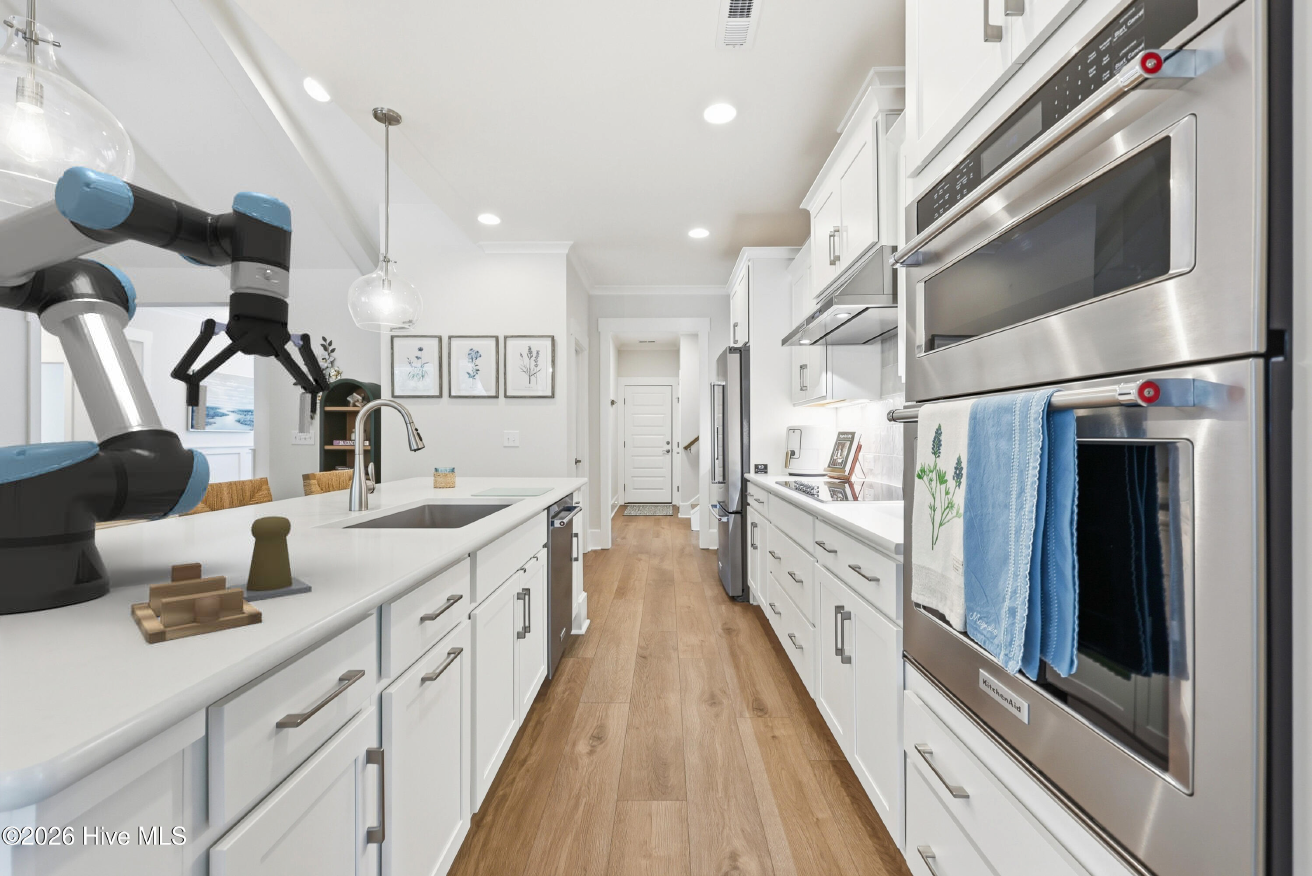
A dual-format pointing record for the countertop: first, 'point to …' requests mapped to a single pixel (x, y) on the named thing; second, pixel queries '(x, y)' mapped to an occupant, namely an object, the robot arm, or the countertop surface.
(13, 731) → the countertop surface
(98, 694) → the countertop surface
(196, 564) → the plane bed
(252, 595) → the slate coaster
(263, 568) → the cork
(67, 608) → the countertop surface
